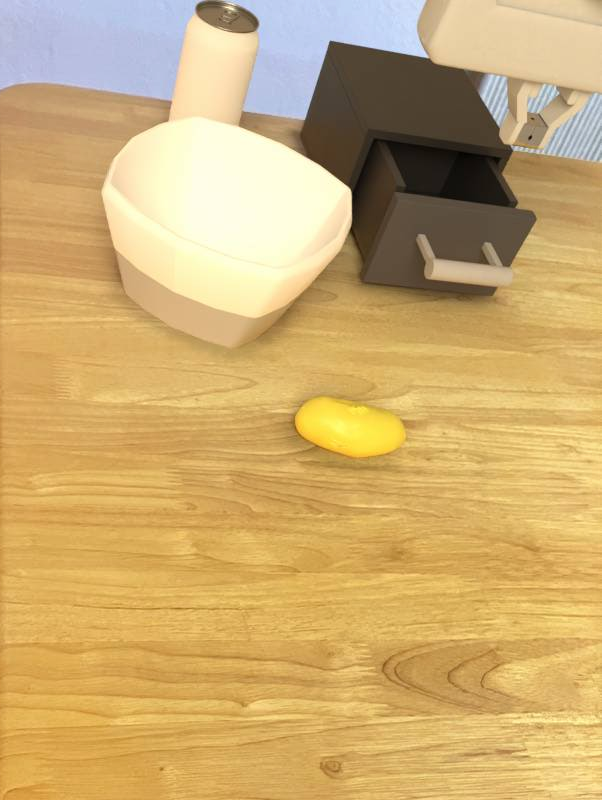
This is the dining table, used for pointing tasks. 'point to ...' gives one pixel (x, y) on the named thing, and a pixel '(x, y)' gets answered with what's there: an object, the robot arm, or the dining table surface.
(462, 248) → the drawer
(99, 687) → the dining table surface
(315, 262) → the bowl
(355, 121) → the cabinet
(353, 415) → the lemon
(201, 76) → the can
